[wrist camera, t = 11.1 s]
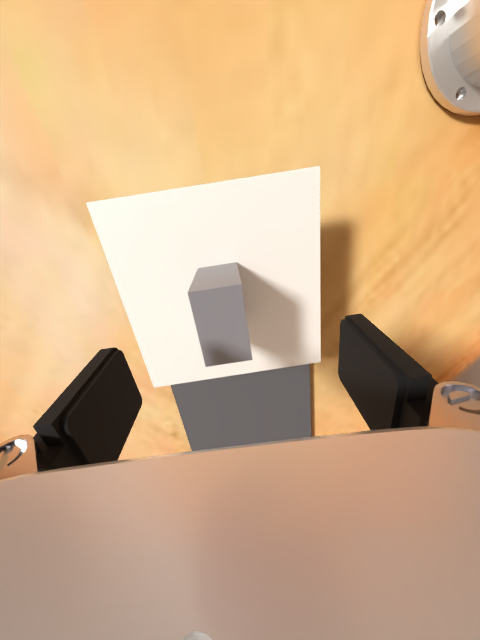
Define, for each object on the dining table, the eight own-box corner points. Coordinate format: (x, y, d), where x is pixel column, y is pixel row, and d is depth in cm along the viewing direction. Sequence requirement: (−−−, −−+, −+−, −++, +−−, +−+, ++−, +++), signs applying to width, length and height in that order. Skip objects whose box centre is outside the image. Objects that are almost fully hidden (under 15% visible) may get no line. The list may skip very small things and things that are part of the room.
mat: (306, 340, 31) (309, 343, 30) (309, 438, 39) (311, 444, 38) (166, 361, 31) (164, 366, 30) (196, 455, 39) (195, 461, 38)
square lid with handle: (317, 167, 17) (367, 145, 11) (318, 358, 24) (350, 409, 18) (90, 202, 17) (18, 200, 11) (155, 383, 24) (132, 442, 18)
